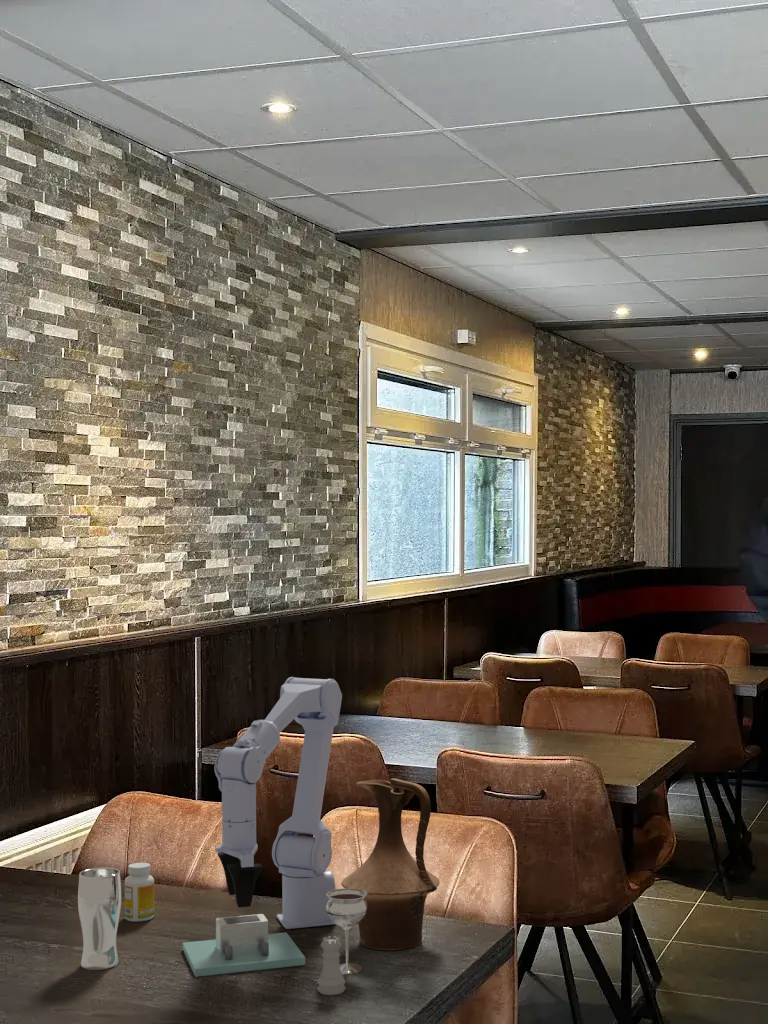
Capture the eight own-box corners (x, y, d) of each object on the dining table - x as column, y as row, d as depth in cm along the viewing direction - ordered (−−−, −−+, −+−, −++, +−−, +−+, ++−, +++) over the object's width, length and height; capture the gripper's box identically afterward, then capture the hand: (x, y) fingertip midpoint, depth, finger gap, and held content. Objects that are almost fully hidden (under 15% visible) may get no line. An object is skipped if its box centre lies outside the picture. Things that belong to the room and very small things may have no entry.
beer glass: (129, 959, 208) (129, 868, 208) (106, 973, 202) (106, 879, 202) (92, 955, 210) (92, 865, 211) (69, 968, 204) (69, 875, 204)
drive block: (263, 943, 212) (262, 913, 212) (268, 951, 208) (268, 920, 208) (216, 948, 210) (215, 917, 210) (220, 956, 206) (220, 925, 206)
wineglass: (337, 978, 198) (336, 902, 199) (319, 966, 204) (318, 891, 205) (375, 971, 201) (374, 896, 202) (356, 959, 207) (356, 886, 208)
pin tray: (286, 939, 218) (286, 920, 218) (305, 964, 205) (305, 945, 205) (182, 949, 213) (182, 930, 213) (195, 976, 200) (195, 956, 200)
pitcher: (460, 936, 219) (458, 775, 220) (409, 964, 205) (408, 792, 205) (375, 921, 228) (374, 766, 229) (321, 946, 214) (320, 781, 215)
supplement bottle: (157, 914, 234) (157, 861, 234) (149, 922, 229) (149, 869, 229) (129, 913, 234) (129, 861, 235) (120, 922, 229) (120, 868, 229)
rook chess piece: (316, 986, 195) (316, 934, 195) (345, 985, 195) (344, 933, 195) (317, 996, 190) (317, 943, 191) (346, 995, 191) (346, 942, 191)
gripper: (208, 812, 217) (208, 891, 217) (223, 830, 203) (223, 914, 203) (248, 809, 219) (249, 887, 219) (266, 826, 205) (266, 910, 205)
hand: (239, 900), depth 211 cm, fingers open, 7 cm apart
